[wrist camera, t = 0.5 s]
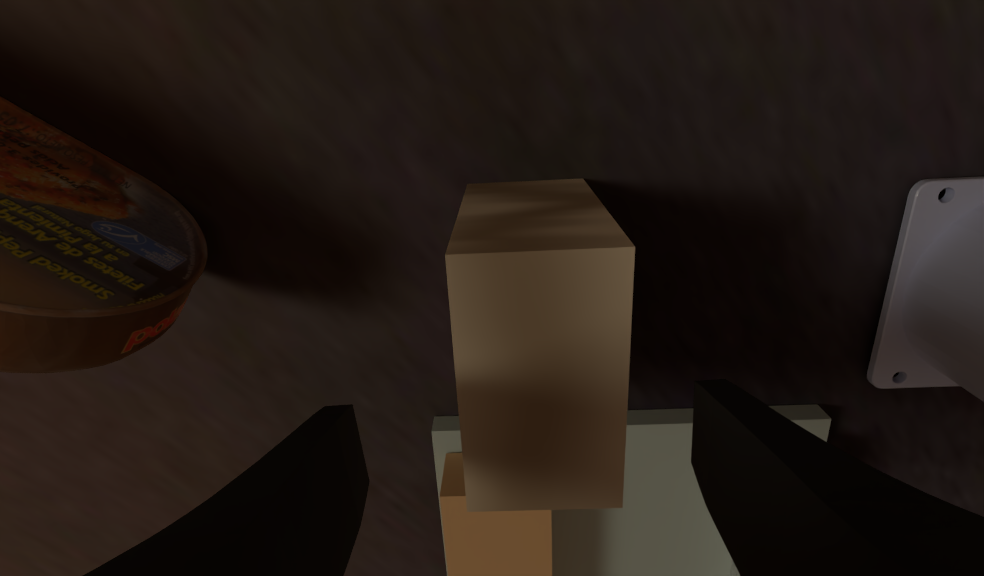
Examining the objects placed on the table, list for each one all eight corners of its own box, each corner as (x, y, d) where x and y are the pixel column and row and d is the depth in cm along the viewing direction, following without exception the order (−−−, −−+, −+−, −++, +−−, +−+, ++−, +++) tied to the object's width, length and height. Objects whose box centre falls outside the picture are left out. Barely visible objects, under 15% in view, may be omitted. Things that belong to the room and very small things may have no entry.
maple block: (582, 178, 19) (635, 246, 11) (581, 357, 21) (622, 508, 14) (467, 183, 19) (445, 254, 12) (479, 360, 22) (466, 511, 14)
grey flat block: (817, 404, 22) (872, 462, 19) (769, 644, 27) (806, 722, 24) (434, 416, 22) (422, 474, 19) (459, 649, 28) (453, 726, 24)
